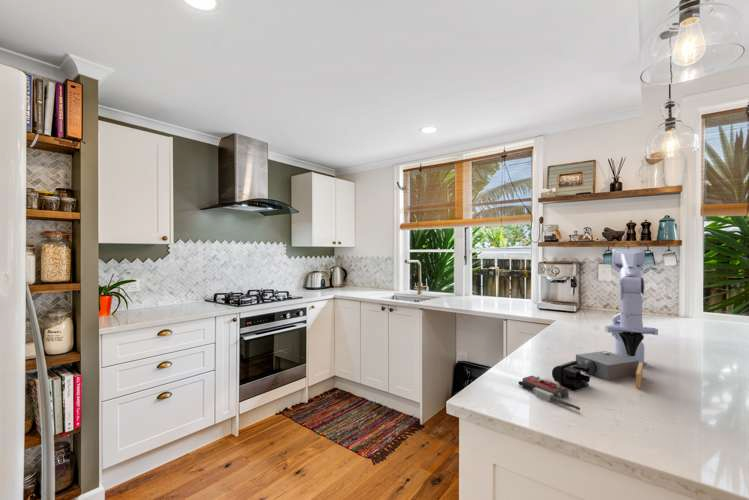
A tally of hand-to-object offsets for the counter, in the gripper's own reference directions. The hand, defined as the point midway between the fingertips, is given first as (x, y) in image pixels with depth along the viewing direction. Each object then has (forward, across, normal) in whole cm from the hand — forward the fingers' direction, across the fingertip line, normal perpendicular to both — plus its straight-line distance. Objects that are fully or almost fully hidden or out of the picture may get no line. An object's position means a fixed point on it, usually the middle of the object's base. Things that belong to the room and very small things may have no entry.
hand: (630, 355), depth 113 cm
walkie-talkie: (+10, -29, -16) cm, 34 cm away
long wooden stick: (+9, +3, +1) cm, 9 cm away
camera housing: (+9, -3, +10) cm, 14 cm away
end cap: (+9, -20, -6) cm, 23 cm away
